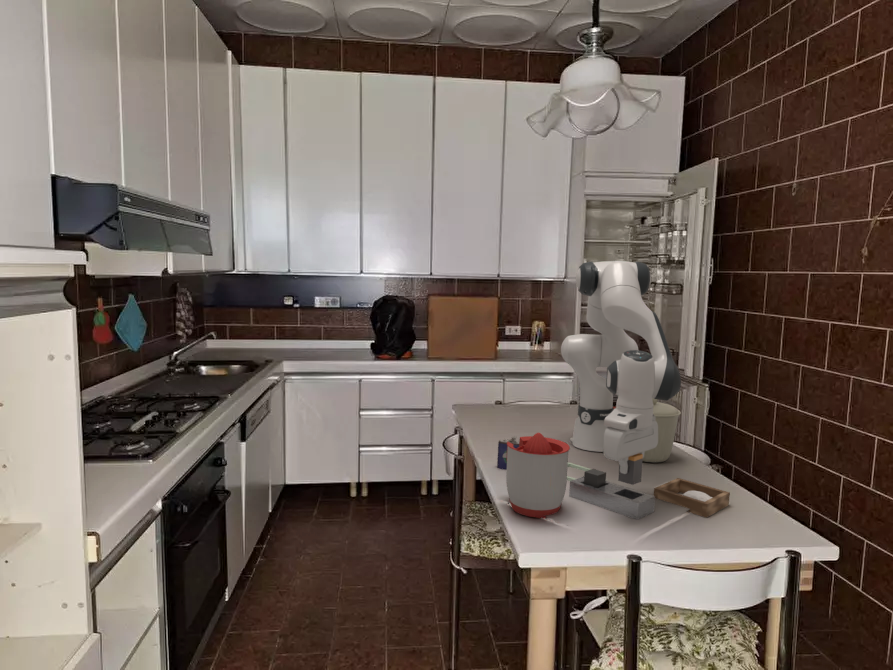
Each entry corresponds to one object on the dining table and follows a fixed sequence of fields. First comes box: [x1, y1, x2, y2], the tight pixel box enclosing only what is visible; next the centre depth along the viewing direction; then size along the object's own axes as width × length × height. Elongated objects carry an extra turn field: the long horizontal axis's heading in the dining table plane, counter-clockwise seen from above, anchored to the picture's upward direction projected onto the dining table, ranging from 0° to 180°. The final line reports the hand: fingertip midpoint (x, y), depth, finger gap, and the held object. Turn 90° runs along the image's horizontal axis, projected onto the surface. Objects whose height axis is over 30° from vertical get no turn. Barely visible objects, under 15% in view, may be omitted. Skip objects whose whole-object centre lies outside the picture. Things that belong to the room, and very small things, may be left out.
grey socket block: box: [568, 475, 656, 520], centre depth 161 cm, size 8×20×5 cm, turn 43°
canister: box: [642, 398, 682, 464], centre depth 204 cm, size 18×18×21 cm
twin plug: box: [583, 468, 607, 488], centre depth 164 cm, size 4×4×7 cm
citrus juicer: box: [503, 432, 571, 519], centre depth 157 cm, size 16×17×20 cm
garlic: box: [682, 491, 713, 502], centre depth 164 cm, size 8×7×4 cm
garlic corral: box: [653, 477, 731, 519], centre depth 166 cm, size 13×14×4 cm
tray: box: [567, 461, 592, 482], centre depth 184 cm, size 12×12×2 cm
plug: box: [618, 454, 643, 486], centre depth 156 cm, size 4×4×7 cm
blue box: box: [496, 435, 519, 471], centre depth 187 cm, size 9×3×11 cm, turn 78°
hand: (630, 470), depth 156 cm, fingers closed on plug, 4 cm apart
